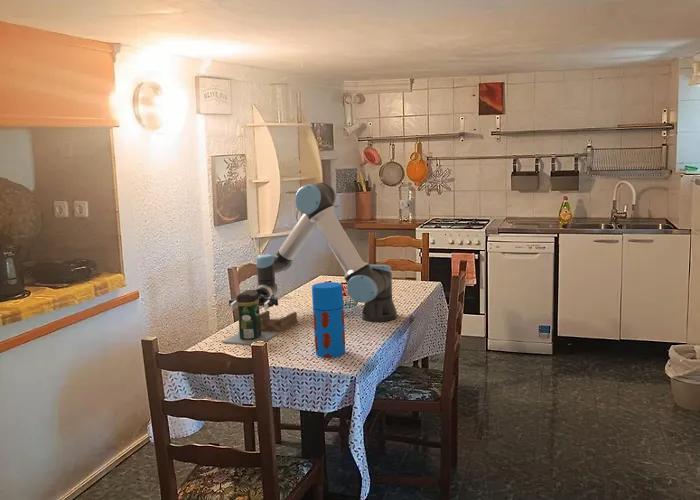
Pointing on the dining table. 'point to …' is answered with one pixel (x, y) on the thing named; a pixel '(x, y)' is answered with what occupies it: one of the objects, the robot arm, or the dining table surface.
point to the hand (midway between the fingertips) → (248, 307)
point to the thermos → (328, 319)
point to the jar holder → (277, 322)
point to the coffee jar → (249, 315)
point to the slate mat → (238, 340)
